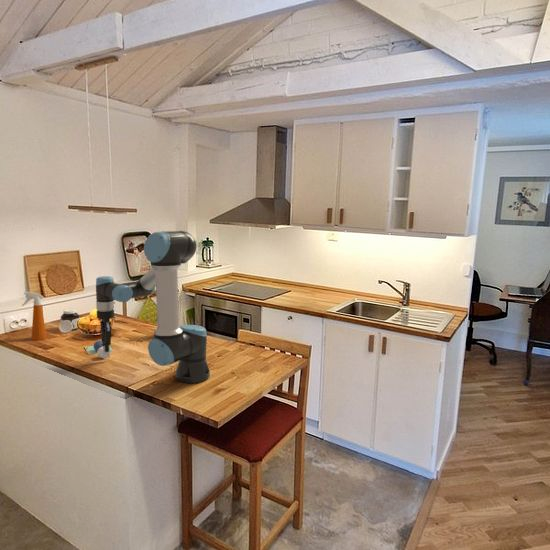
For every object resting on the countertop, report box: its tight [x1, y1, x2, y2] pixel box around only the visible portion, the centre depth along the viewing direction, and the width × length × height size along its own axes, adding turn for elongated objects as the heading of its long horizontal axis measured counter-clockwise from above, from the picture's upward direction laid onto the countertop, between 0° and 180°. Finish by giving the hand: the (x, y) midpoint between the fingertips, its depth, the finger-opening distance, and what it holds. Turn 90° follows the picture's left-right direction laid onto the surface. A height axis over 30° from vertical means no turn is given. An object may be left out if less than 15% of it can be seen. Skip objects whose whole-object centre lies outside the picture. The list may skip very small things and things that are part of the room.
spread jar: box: [58, 308, 81, 334], centre depth 238 cm, size 12×11×12 cm
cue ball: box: [96, 347, 104, 359], centre depth 200 cm, size 6×6×6 cm
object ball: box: [93, 340, 103, 351], centre depth 208 cm, size 6×6×6 cm
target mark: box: [84, 345, 114, 355], centre depth 211 cm, size 12×12×1 cm
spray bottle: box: [21, 291, 47, 341], centre depth 220 cm, size 7×11×26 cm, turn 123°
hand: (106, 357), depth 195 cm, fingers closed
